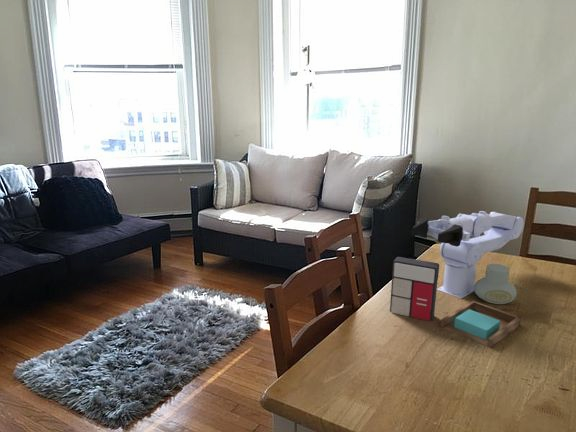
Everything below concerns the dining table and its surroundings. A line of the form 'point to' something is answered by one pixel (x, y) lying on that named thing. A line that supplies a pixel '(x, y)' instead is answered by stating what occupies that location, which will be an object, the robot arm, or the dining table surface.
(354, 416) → the dining table surface
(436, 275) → the calculator
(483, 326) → the cover plate
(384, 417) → the dining table surface
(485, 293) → the air freshener
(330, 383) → the dining table surface
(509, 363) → the dining table surface
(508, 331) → the walnut box
